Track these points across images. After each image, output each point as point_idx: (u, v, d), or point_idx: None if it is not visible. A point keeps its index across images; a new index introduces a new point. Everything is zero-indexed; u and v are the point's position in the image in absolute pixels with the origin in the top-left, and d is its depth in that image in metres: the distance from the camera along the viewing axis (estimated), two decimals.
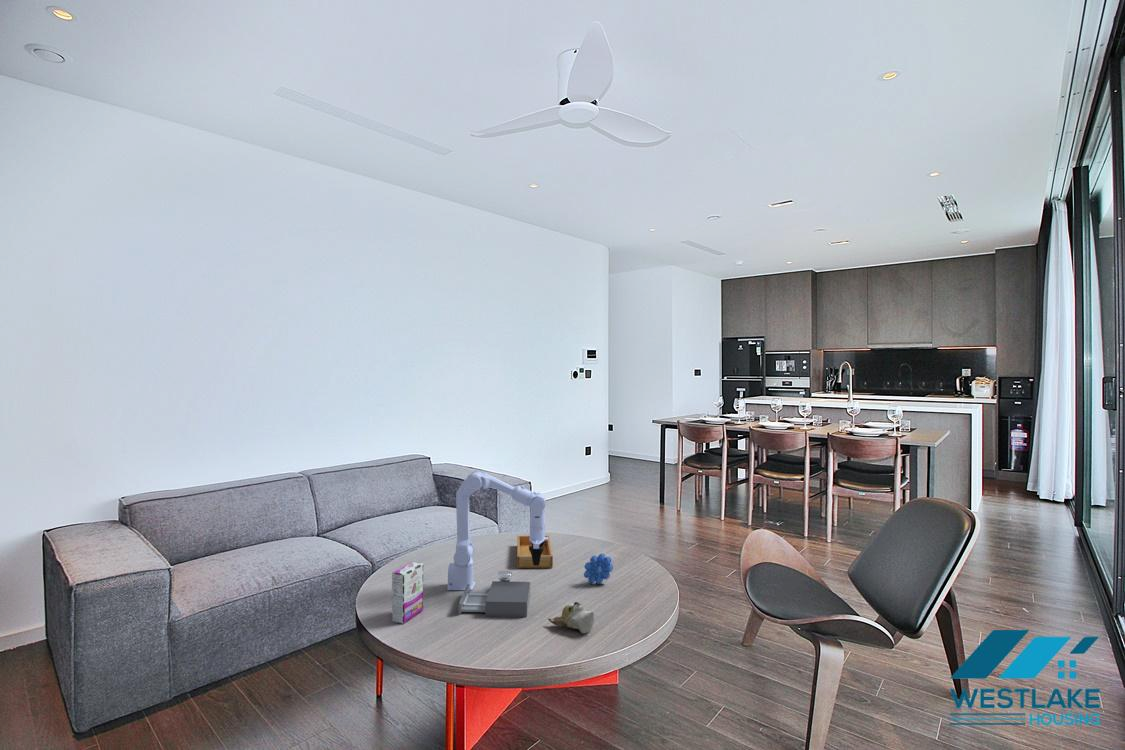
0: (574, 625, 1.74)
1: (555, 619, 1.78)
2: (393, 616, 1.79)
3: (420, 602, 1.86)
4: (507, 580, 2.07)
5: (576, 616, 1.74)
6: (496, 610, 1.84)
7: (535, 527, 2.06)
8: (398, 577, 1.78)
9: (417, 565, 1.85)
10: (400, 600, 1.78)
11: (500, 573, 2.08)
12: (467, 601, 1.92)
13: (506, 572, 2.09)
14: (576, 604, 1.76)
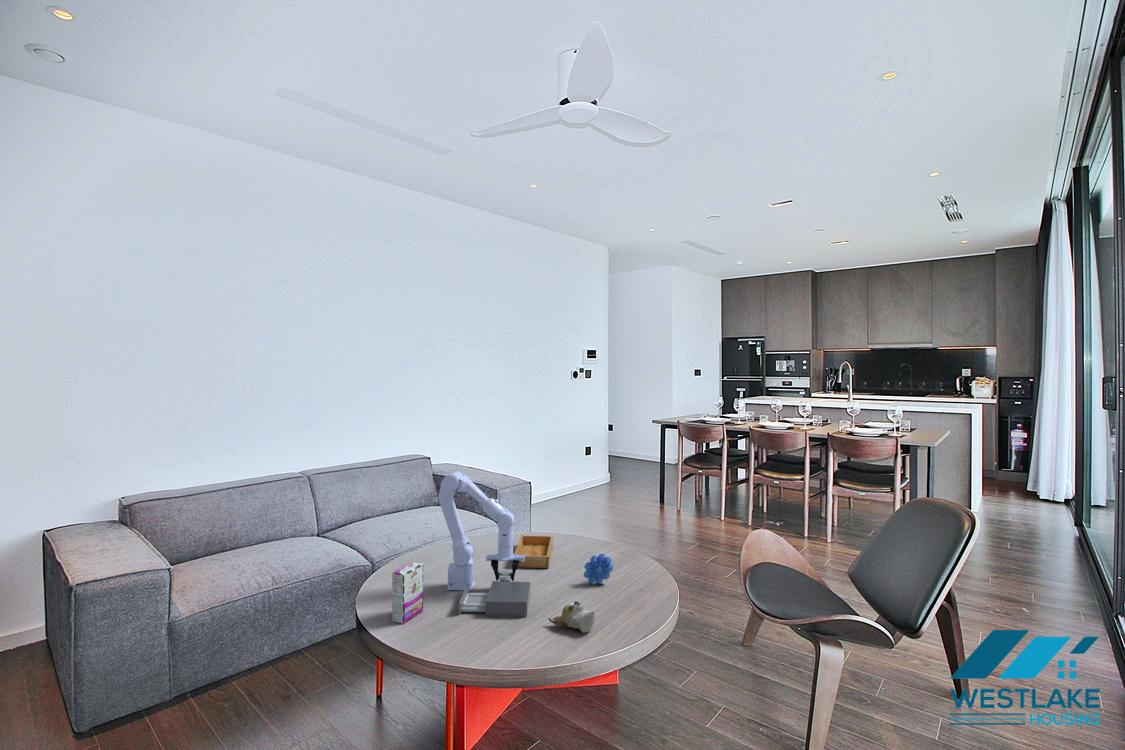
0: (574, 624, 1.74)
1: (555, 619, 1.78)
2: (393, 616, 1.79)
3: (420, 602, 1.86)
4: (507, 580, 2.07)
5: (576, 615, 1.74)
6: (496, 610, 1.84)
7: (502, 545, 2.05)
8: (398, 576, 1.78)
9: (417, 565, 1.85)
10: (400, 600, 1.78)
11: (500, 573, 2.08)
12: (467, 601, 1.92)
13: (506, 572, 2.09)
14: (576, 604, 1.76)
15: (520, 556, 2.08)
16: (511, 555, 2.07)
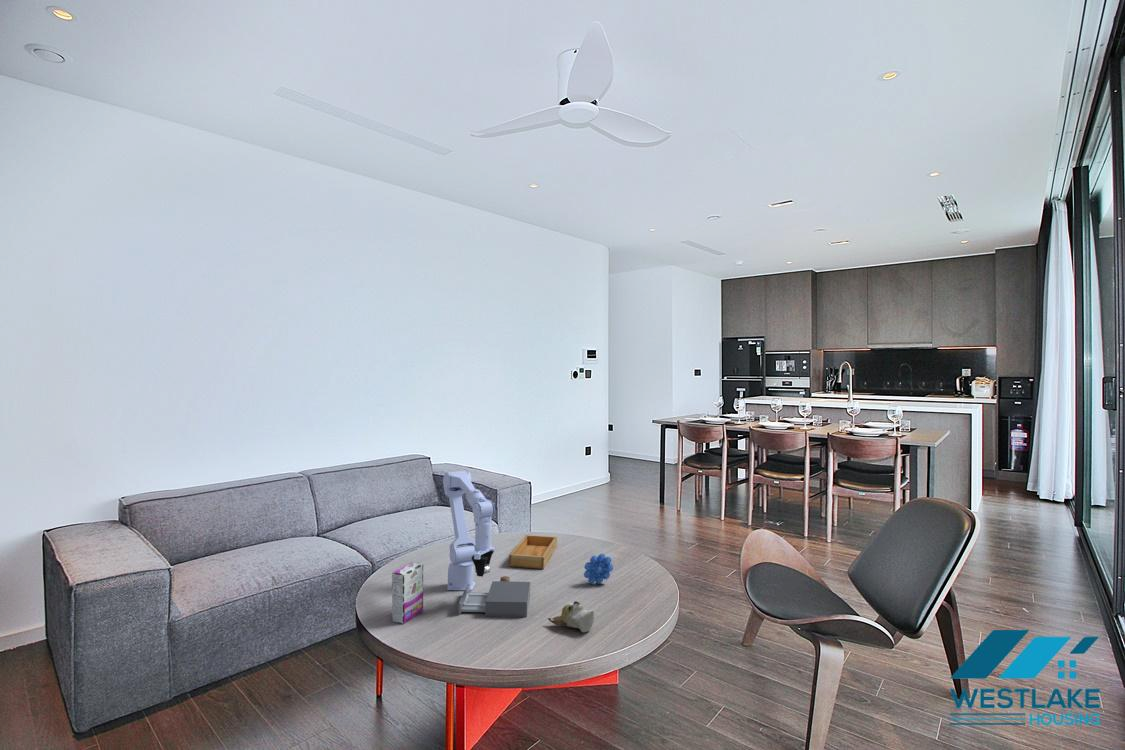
0: (574, 624, 1.74)
1: (555, 618, 1.78)
2: (393, 616, 1.79)
3: (420, 602, 1.86)
4: (507, 580, 2.07)
5: (576, 615, 1.74)
6: (496, 610, 1.84)
7: (475, 534, 1.94)
8: (398, 577, 1.78)
9: (417, 565, 1.85)
10: (400, 600, 1.78)
11: None
12: (467, 601, 1.92)
13: None
14: (576, 603, 1.77)
15: None
16: None
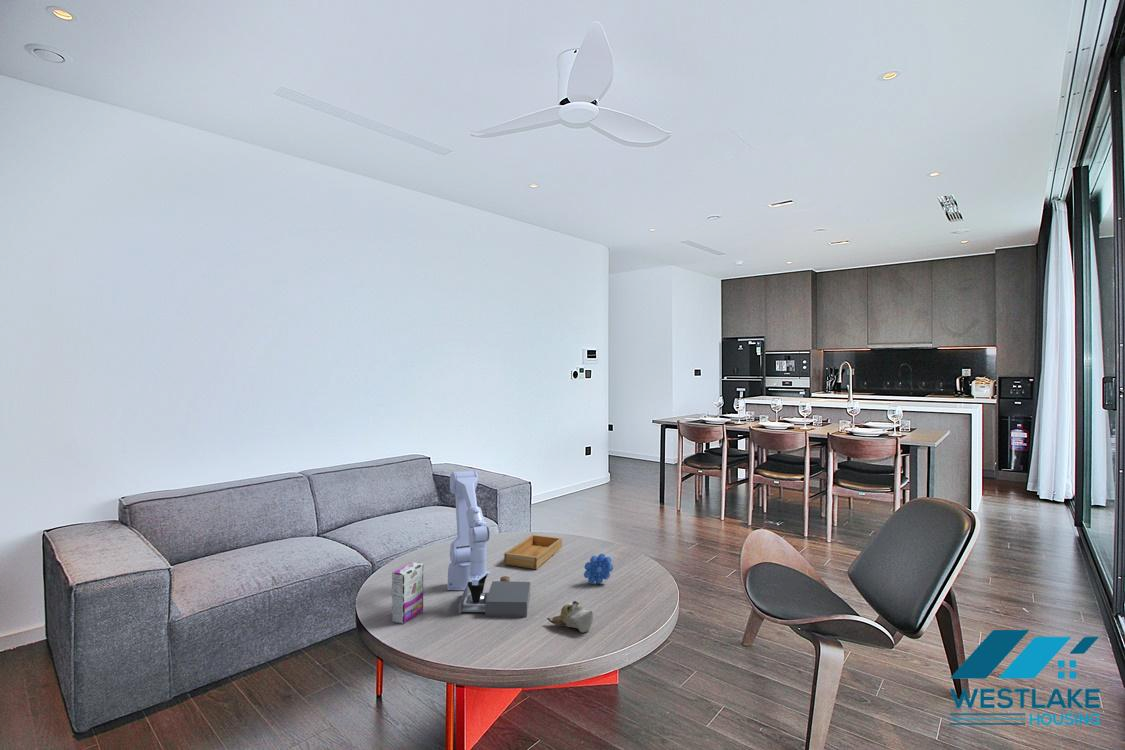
0: (573, 624, 1.74)
1: (554, 618, 1.78)
2: (393, 616, 1.79)
3: (420, 602, 1.86)
4: (507, 580, 2.07)
5: (575, 615, 1.74)
6: (496, 610, 1.84)
7: (470, 559, 1.92)
8: (398, 577, 1.78)
9: (417, 565, 1.85)
10: (400, 600, 1.78)
11: None
12: (467, 601, 1.92)
13: None
14: (575, 603, 1.77)
15: None
16: None
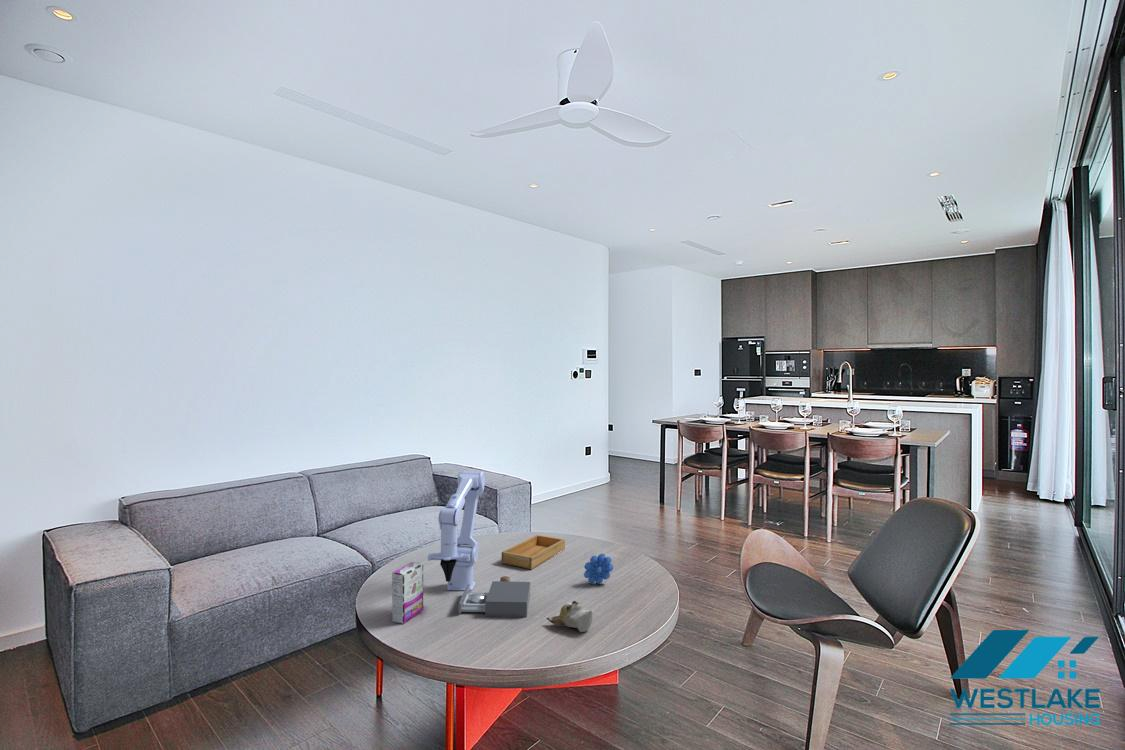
0: (572, 624, 1.74)
1: (553, 618, 1.79)
2: (393, 616, 1.79)
3: (420, 602, 1.86)
4: (507, 580, 2.07)
5: (574, 615, 1.74)
6: (496, 610, 1.84)
7: None
8: (398, 576, 1.78)
9: (417, 565, 1.85)
10: (400, 600, 1.78)
11: (477, 597, 1.91)
12: (467, 601, 1.92)
13: (475, 595, 1.94)
14: (574, 603, 1.77)
15: (465, 555, 1.93)
16: (455, 554, 1.92)
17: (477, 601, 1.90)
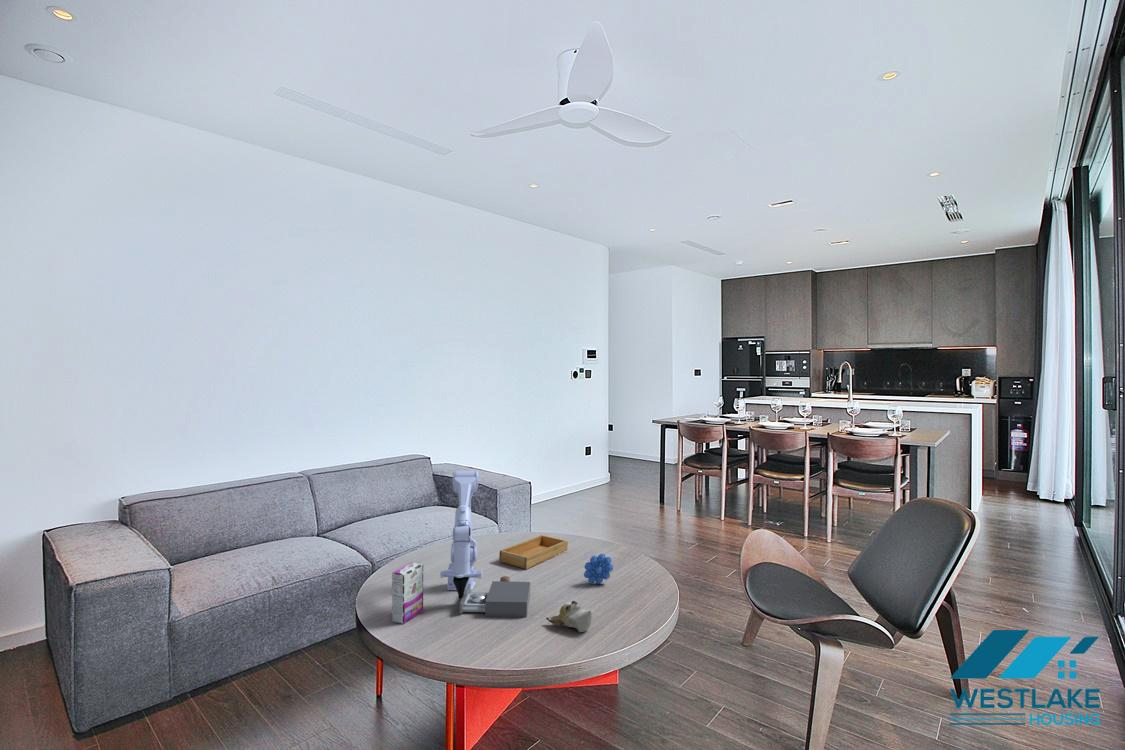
0: (571, 624, 1.74)
1: (553, 618, 1.79)
2: (393, 616, 1.79)
3: (420, 602, 1.86)
4: (507, 580, 2.07)
5: (573, 614, 1.74)
6: (496, 610, 1.84)
7: None
8: (398, 577, 1.78)
9: (417, 565, 1.85)
10: (400, 600, 1.78)
11: (479, 597, 1.91)
12: (468, 601, 1.92)
13: (476, 595, 1.93)
14: (573, 603, 1.77)
15: (477, 572, 1.93)
16: (467, 571, 1.92)
17: (478, 601, 1.90)
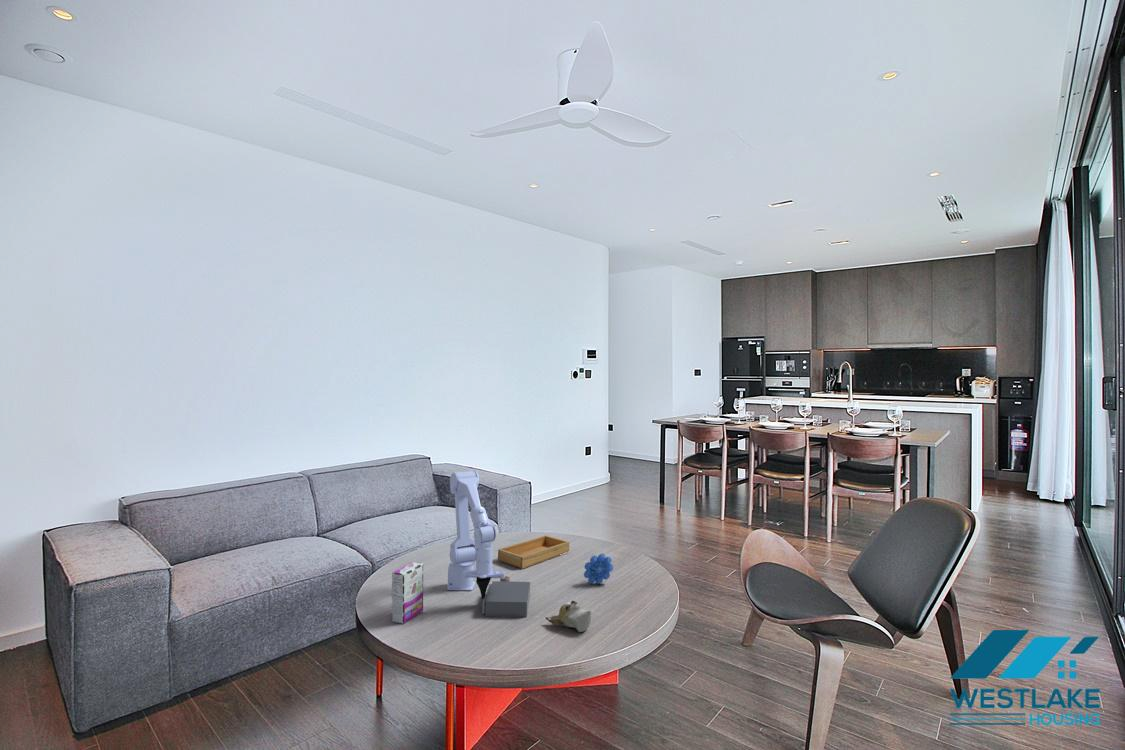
0: (571, 624, 1.74)
1: (552, 618, 1.79)
2: (393, 616, 1.79)
3: (420, 602, 1.86)
4: (507, 580, 2.07)
5: (573, 614, 1.75)
6: (496, 610, 1.84)
7: (476, 559, 1.92)
8: (398, 577, 1.78)
9: (417, 565, 1.85)
10: (400, 600, 1.78)
11: None
12: None
13: None
14: (573, 603, 1.77)
15: (500, 573, 1.93)
16: (490, 572, 1.92)
17: None
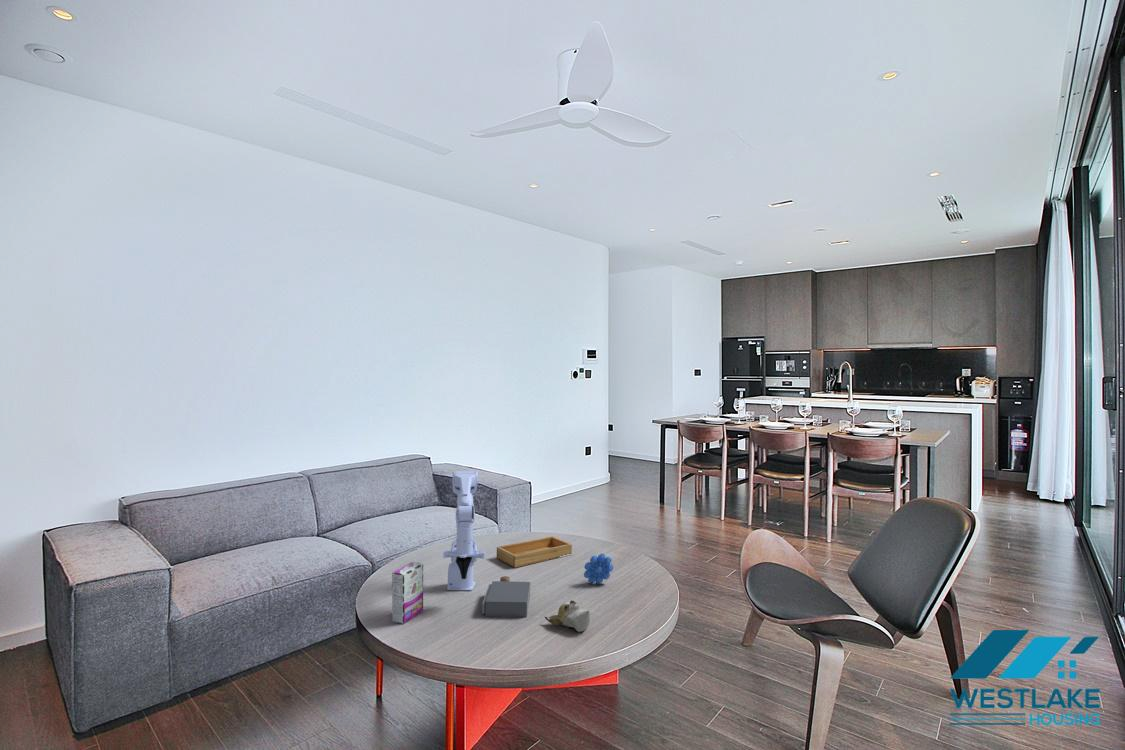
0: (570, 623, 1.75)
1: (551, 617, 1.79)
2: (393, 616, 1.79)
3: (420, 602, 1.86)
4: (507, 580, 2.07)
5: (571, 614, 1.75)
6: (496, 610, 1.84)
7: None
8: (398, 577, 1.78)
9: (417, 565, 1.85)
10: (400, 600, 1.78)
11: None
12: None
13: None
14: (572, 603, 1.77)
15: (480, 552, 1.93)
16: (470, 551, 1.92)
17: None
